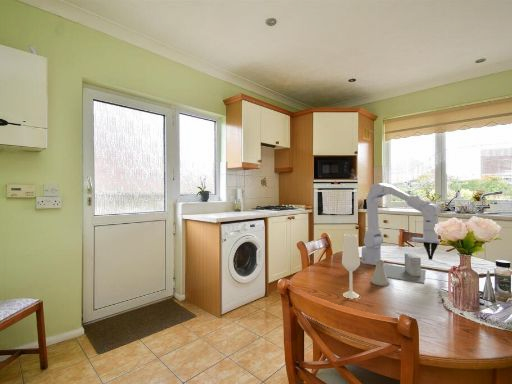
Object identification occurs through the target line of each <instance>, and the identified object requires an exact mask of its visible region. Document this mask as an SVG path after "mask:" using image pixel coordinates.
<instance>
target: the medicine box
mask: <svg viewBox="0 0 512 384" xmlns="http://www.w3.org/2000/svg"><path fill="white" fill-rule="evenodd" d="M421 259H422V258H421V257H420V256H418V255H417V254H415V253H410V252H409V253H404V267H405V271H406V272H407V273H409V274H410V275H411V276H421V268H422V267H421V266H422V265H421V264H422V263H421Z"/></svg>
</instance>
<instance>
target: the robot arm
mask: <svg viewBox="0 0 512 384" xmlns="http://www.w3.org/2000/svg"><path fill="white" fill-rule="evenodd" d="M387 195H392V196H394V197H396V198H398V199H400V200H403V201H405V202H406V204H407V206H409V207H410V208H412V209H414V210H415V211H419V212H420V214H421V215H422V217H423V221H422V222H423V223H422V228H423V229H422V232H423V233H422V237H415V236H413V237H412V238H411V242H412V243H421V244H422V243H423V247H424V249H425V252H426V253H427V254H426V255H427V257H428V260H431V261H432V260H433V258H434V254H435V251H436V249H437V248H438V246H439V245H440V244H439V243H440V238H439V234H438V235H437V234H436V233H435V231H434V227H435V224H437V223H438V224H439V214H440V212H441V208H440V207H441V206H439V205H438V204H437V203H434V202H431V201H430V200H425V199H424V198H422V197H421V195H419V194H416V195H415V194H413V195H410V194H408V193H407V192H404V191H403V190H401V189H399V188H398V187H396V186H395V185H392V184H389V183H387V182H384V183H382V182H381V183H378V182H376V183H373V184H372V185H371V186H370V187H369V191H368V193H367V195H366V215H367V219H366V220H367V230H366V231H365V233H364V238H363V243H364V245H363V246H362V248H361V261H360V264H366V265H371V266H372V265H373V266H376V261H375V260H382V258H381V257H382V255H381V252H382V248H381V246H382V245H383V243H384V238H383V235H382V232H381V230H380V227H379V225H380V223H379V202H378V201H379V200H380V199H382V198H383V197H384V196H387Z"/></svg>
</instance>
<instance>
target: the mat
mask: <svg viewBox="0 0 512 384" xmlns="http://www.w3.org/2000/svg"><path fill="white" fill-rule="evenodd" d="M383 267H384V271H385V273H386V276H387V278H388V279H394V280H399V281H405V282H410V283H411V282H412V283H418V284H423V285H424V284H425V278H426V272H427V271H426V269H421V276H411V275H410V274H409V273H407V272H406V271H405V266H401V265H394V264H387V263H386V264H384V265H383Z"/></svg>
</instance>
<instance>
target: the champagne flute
mask: <svg viewBox="0 0 512 384" xmlns="http://www.w3.org/2000/svg"><path fill="white" fill-rule="evenodd" d="M358 239H359V238H358V234H354V233H344V235H343V244H342V245H343V246H342V255H341V256H342V257H341V264H342V266H343V268H345V269H346V270H347V271H348V272H349V273H348V276H349V279H348V280H349V286H348V287H349V289H348V291H346V292H343V293H342V294H343V296H344V297H346V298H345V299H347V298H351V299H353V298H358V297H359V296H360V294H358V293H357V292H355V291H354V290H353V287H354V286H353V283H354V282H353V281H354V280H353V272H354V271H356V270H357V269H359V267H360V265H361V259H360V251H359V250H360V249H359V241H358ZM343 296H342V297H343ZM344 297H343V298H344ZM351 299H350V300H351Z"/></svg>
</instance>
